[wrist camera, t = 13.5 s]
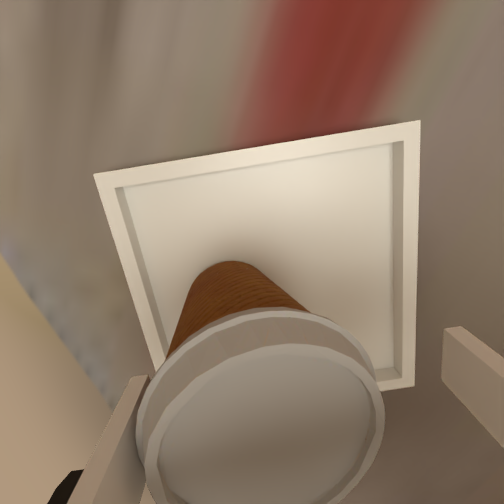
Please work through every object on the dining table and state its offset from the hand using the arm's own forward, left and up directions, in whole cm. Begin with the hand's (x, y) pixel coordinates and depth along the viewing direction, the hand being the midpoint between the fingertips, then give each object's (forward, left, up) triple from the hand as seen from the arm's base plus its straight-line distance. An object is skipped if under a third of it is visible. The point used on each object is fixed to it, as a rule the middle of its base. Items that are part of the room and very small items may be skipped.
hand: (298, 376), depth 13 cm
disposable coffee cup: (0, +3, -9) cm, 10 cm away
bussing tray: (0, 0, -10) cm, 11 cm away
